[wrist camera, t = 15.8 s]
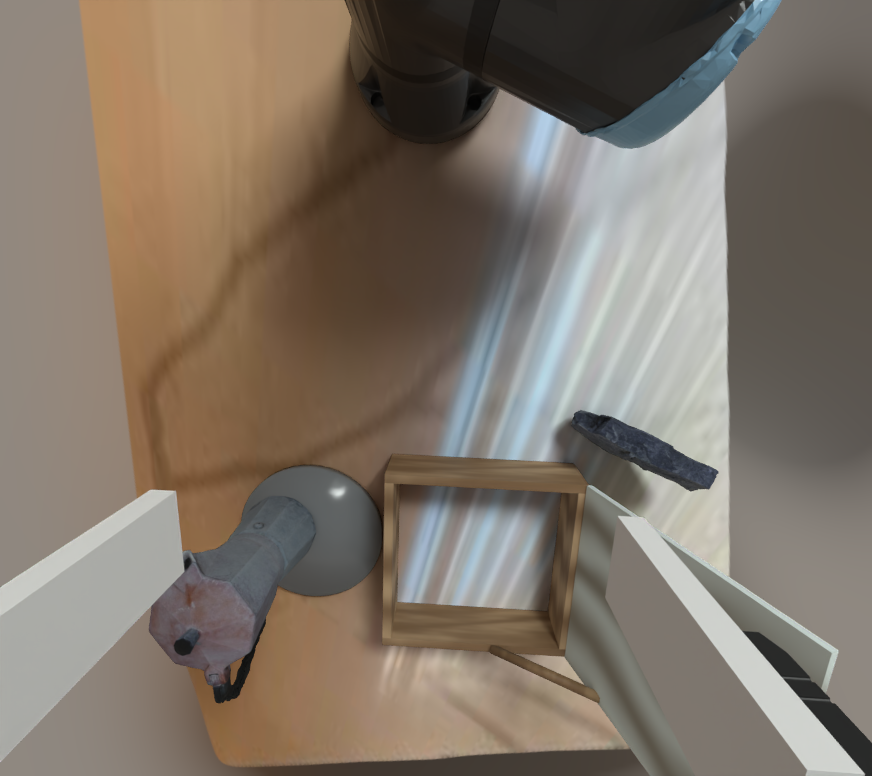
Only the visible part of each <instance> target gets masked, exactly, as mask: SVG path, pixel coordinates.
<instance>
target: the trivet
mask: <svg viewBox="0 0 872 776" xmlns="http://www.w3.org/2000/svg"><path fill="white" fill-rule="evenodd" d="M270 496H284V497H289V498H293V499H295V500H297V501H298V502H299V503H301V504H302V505H303V506H304V507H306V508H307V510H308V511H309V512H310V514H311V515H312V518H313V521H314V524H315V529H316V535H315V537H314V540H313V543H312V545H311V547H310V549H309V551H308V553H307V554H306V555H305V556H304V557H303V558H302V559H301V560H300V561H299V562H298V563H297V564H296V565H295V566H294V568H292V569H291V570H290V572H289V573H288V574H287V575H286V576H285V577H284V578H283V579H282V580H281V581H280V582H279V583H278V586H280V587H282V588H284V589H286V590H289V591H292V592H294V593H298V594H303V595H309V596H326V595H332V594H337V593H340V592H343V591H346V590H348V589H350V588H352V587H354V586H355V585H357V584H358V583H359V582H361V581H362V580H363V579H364V578H365V577H366V576H367V575H368V574H369V573H370V571H371V570H372V569H373V567H374V565H375V564H376V562H377V559H378V557H379V554H380V550H381V546H382V541H383V525H382V520H381V516H380V513H379V511H378V508H377V506H376V504H375V502H374V501H373V499H372V498H371V496H370V495H369V494H368V492H367V491H366V490H365V489H364V488H363V487H362V486H361V485H360V484H359V483H357V482H356V481H355V480H353V479H352V478H350V477H349V476H347V475H345V474H343V473H341V472H340V471H337V470H334V469H331V468H328V467H324V466H317V465H299V466H292V467H289V468H285V469H283V470H280V471H278V472H276V473H274V474H272V475H271V476H269V477H268V478H267V479H265V480H264V481H263V482H262V483H261V484H260V485H259V486H258V487H257V488H256V489H255V490H254V491H253V492H252V494H251V495H250V497H249V498H248V500H247V502H246V504H245V507H244V510H243V513H242V519H241V521H242V520H243V518H244V517H245V516H246V514H247V513H248V511H249V510H250V509H251V508H252V507H253V506H254V505H256V504H257V503H259V502H260V501H262V500H263V499H265V498H267V497H270Z"/></svg>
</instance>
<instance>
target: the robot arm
mask: <svg viewBox="0 0 872 776" xmlns="http://www.w3.org/2000/svg"><path fill="white" fill-rule="evenodd" d="M345 2H346V5H347V7H348V10H349V13H350V15H351V18H352V21H351V29H350V39H349V50H350V60H351V66H352V71H353V75H354V78H355V81H356V84H357V87H358V89H359V91H360V93H361V96H362V98H363V100H364V102H365V104H366V106H367V107H368V109H369V110H370V112H371V113H372V115H373V116H374V117H375V118H376V119H377V121H378V122H379V123H380V124H381V125H383V126H384V127H385V128H386V129H387V130H389V131H390V132H392V133H393V134H395V135H397V136H399V137H401V138H403V139H405V140H408V141H412V142H416V143H424V144H433V143H441V142H445V141H449V140H452V139H454V138H457V137H459V136H461V135H462V134H464V133H466V132H467V131H469V130H470V129H471V128H473V127H474V126H475V125H476V124H477V123H478V122H479V121H480V120H481V119H482V118H483V117H484V116H485V114H486V113H487V112H488V110H489V109H490V107H491V106H492V104H493V102H494V100H495V98H496V96H497V94H498V92H499V89H502V90H504V91H505V92H507V93H509V94H511V95H513V96H515V97H517V98H519V99H521V100H523V101H525V102H527V103H529V104H531V105H532V106H534V107H536V108H538V109H540V110H542V111H544V112H546V113H548V114H550V115H552V116H554V117H556V118H558V119H560V120H561V121H563V122H565V123H567V124H569V125H571V126H573V127H575V128H576V130H577V131H578V132H579V133H580V134H582V135H587V136H589V137H597V138H599V139H602V140H604V141H606V142H608V143H611V144H613V145H615V146H617V147H620V148H630V149H632V148H639V147H643V146H646V145H648V144H650V143H652V142H654V141H656V140H658V139H659V138H661V137H663V136H664V135H666V134H667V133H669V132H670V131H671V130H673V129H674V128H675V127H676V126H678V125H679V124H680V123H681V122H682V121H684V120H685V119H686V118H687V117H688V116H689V115H690V114H691V113H692V112H693V111H694V110H695V109H696V108H698V107H699V106H700V105H701V104H702V103H703V102H704V101H705V100H706V99H707V98H708V97H709V95H710V94H711V93H712V92H713V91H714V90H715V89H716V88H717V87H718V86H719V85H720V84H721V82H722V81H723V80H724V79H725V78H726V77H727V76H728V74H729V73H730V72H731V71H732V70H733V68H734V67H735V66H736V64H737V60H738V58H739V56H740V54H741V52H743V51H744V50H745V49H746V48H747V47H748V46H749V45H750V44H751V43H752V42H753V41H755V40H756V38H757V37H758V36H759V34H760V33H761V31H762V30H763V29H764V27H765V26H766V24H767V23H768V22H769V20H770V19H771V17H772V16H773V14H774V12H775V10H776V9H777V7H778V6H779V4H780V2H781V0H345ZM183 572H184V562H183V553H182V543H181V534H180V525H179V515H178V506H177V496H176V491H166V490H150V491H148V492H147V493H145V494H143V495H142V496H140V497H139V498H137V499H136V500H134V501H133V502H131V503H130V504H128V505H126V506H125V507H123V508H122V509H120V510H119V511H117V512H116V513H114V514H113V515H111V516H110V517H108V518H106V519H105V520H103V521H102V522H100V523H99V524H97V525H96V526H94V527H93V528H91V529H90V530H88V531H86V532H85V533H83V534H82V535H80V536H79V537H77V538H76V539H74V540H73V541H71V542H69V543H68V544H66V545H65V546H63V547H62V548H60V549H59V550H57V551H56V552H54V553H53V554H51V555H50V556H48V557H46V558H45V559H43V560H42V561H40V562H39V563H37V564H36V565H34V566H32V567H31V568H29V569H28V570H26V571H25V572H23V573H22V574H20V575H18V576H17V577H15V578H14V579H12V580H11V581H9V582H8V583H6V584H5V585H3V586H1V587H0V762H1V761H2V760H3V759H4V758H5V757H6V756H7V755H8V754H9V753H10V752H11V750H12V749H13V748H14V747H15V746H16V745H17V744H18V743H19V742H20V741H21V740H22V739H23V738H24V737H25V736H26V735H27V734H28V733H29V732H30V731H31V730H32V729H33V728H34V727H35V726H36V725H37V724H38V722H39V721H41V719H42V718H43V717H44V716H45V715H46V714H47V713H48V712H49V711H50V710H51V709H52V708H53V707H54V706H55V705H56V704H57V703H58V702H59V701H60V700H61V699H62V698H63V697H64V696H65V695H66V694H67V693H68V691H69V690H70V689H71V688H72V687H73V686H74V685H75V684H76V683H77V682H78V681H79V680H80V679H81V678H82V677H83V676H84V675H85V674H86V673H87V672H88V671H89V670H90V669H91V668H92V667H93V666H94V665H95V663H97V662H98V660H99V659H100V658H101V657H102V656H103V655H104V654H105V653H106V652H107V651H108V650H109V649H110V648H111V647H112V646H113V645H114V644H115V643H116V642H117V641H118V640H119V639H120V638H121V637H122V636H123V635H124V634H125V633H126V631H127V630H128V629H129V628H130V627H131V626H132V625H133V624H134V623H135V622H136V621H137V620H138V619H139V618H140V617H141V616H142V615H143V614H144V613H145V612H146V611H147V610H148V609H149V608H150V607H151V606H152V605H153V604H154V603H155V601H156V600H157V599H158V598H159V597H160V596H161V595H162V594H163V593H164V592H165V591H166V590H167V589H168V588H169V587H170V586H171V585H172V584H173V583H174V582H175V581H176V580H177V579H178V578H179V577H180V576H181V575H182V574H183ZM605 598H606V600H607V602H608V604H609V606H610V608H611V610H612V612H613V614H614V616H615V618H616V620H617V622H618V624H619V626H620V628H621V630H622V632H623V634H624V636H625V638H626V640H627V642H628V644H629V646H630V648H631V650H632V652H633V654H634V656H635V658H636V660H637V662H638V664H639V666H640V668H641V670H642V672H643V674H644V676H645V678H646V679H647V681H648V683H649V685H650V687H651V689H652V691H653V693H654V695H655V697H656V699H657V701H658V703H659V705H660V707H661V709H662V711H663V713H664V715H665V717H666V719H667V721H668V723H669V725H670V727H671V729H672V731H673V733H674V735H675V737H676V739H677V741H678V743H679V745H680V747H681V749H682V751H683V753H684V755H685V757H686V759H687V761H688V763H689V765H690V767H691V769H692V771H693V773H694V775H695V776H872V743H871V742H870V740H868V739H867V737H866V736H865V735H864V734H863V733H862V732H861V731H860V730H859V729H858V728H857V727H856V726H855V724H854V723H853V722H852V721H851V720H850V719H849V718H848V717H847V716H846V715H845V714H844V713H843V712H842V711H841V709H840V708H839V707H838V706H837V705H836V704H833V703H831V702H830V698H829V697H828V696H827V695H826V693H825V692H824V691H823V690H822V689H821V688H820V687H819V686H818V685H817V684H816V683H815V682H812V681H811V679H810V676H809V675H808V674H807V673H806V672H805V671H804V670H803V669H802V668H801V667H800V666H799V665H798V664H797V662H796V661H795V660H794V659H793V658H792V657H791V656H790V655H789V654H788V653H787V652H786V651H784V650H783V649H782V648H780V647H779V646H777V645H776V644H775V643H773V642H772V641H771V640H769V639H768V638H766V637H765V636H764V635H762V634H761V633H759V632H750V631H741V629H740V628H739V627H738V626H737V625H736V624H735V622H734V621H733V620H732V619H731V618H730V617H729V615H728V614H727V613H726V612H725V611H724V610H723V608H722V607H721V606H720V605H719V604H718V603H717V602H716V600H715V599H714V598H713V597H712V596H711V595H710V593H709V592H708V591H707V590H706V589H705V588H704V586H703V585H702V584H701V583H700V582H699V581H698V579H697V578H696V577H695V576H694V575H693V574H692V572H691V571H690V570H689V569H688V568H687V567H686V565H685V564H684V563H683V562H682V561H681V560H680V559H679V557H678V556H677V555H676V554H675V553H674V552H673V550H672V549H671V548H670V547H669V546H668V545H667V543H666V542H665V541H664V540H663V539H662V538H661V536H660V535H659V534H658V533H657V532H656V531H655V529H654V528H653V527H652V526H651V525H650V524H649V522H648V521H647V520H646V519H645V518H644V517H628V516H617V523H616V529H615V536H614V542H613V549H612V555H611V562H610V569H609V575H608V582H607V588H606V595H605Z"/></svg>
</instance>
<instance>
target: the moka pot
mask: <svg viewBox="0 0 872 776" xmlns="http://www.w3.org/2000/svg"><path fill="white" fill-rule="evenodd" d="M315 535H316V529H315V524H314V521H313V518H312V515H311V514H310V512H309V511H308V510H307V508H306V507H304V506H303V505H302V504H301V503H299V502H298V501H297V500H295V499H293V498H289V497H284V496H270V497H267V498H265V499H263V500H262V501H260V502H259V503H257V504H256V505H254V506H253V507H252V508H251V509H250V510H249V511H248V513H247V514H246V516H245V517H244V518H243V520H242V521H241V523H240V524H239V525H238V527H237V528H236V530H235V531H234V533H233V534H232V535H231V536H230V538H229V539H228V541H227V542H225V543H224V544H223V545H221V546H220V547H218V548H217V549H215V550H208V551H204V552H199V553H192V552H191V551H190V550H186V551H183V552H182V553H183V562H184V572H183V574H182V575H181V576H180V577H179V578H178V579H177V580H176V581H175V582H174V583H173V584H172V585H171V586H170V587H169V588H168V589H167V590H166V591H165V592H164V593H163V594H162V595H161V596H160V597H159V598H158V599H157V600H156V601H155V603H154V604H153V605H152V608H151V616H150V624H149V632H150V634H151V635H152V636H153V637H154V639H155V640H156V641H157V642H158V644H159V645H160V646H161V647H162V649H163V650H164V651H165V652H166V654H167V655H168V656H169V657H170V658H171V660H172V661H173V662H174V663H176V664H179V665H183V666H188V667H192V668H198V669H202V670H203V671H205V672H204V675H205V678H206V681H207V684H208V685H212V686H213V690H214V698H215V701H216V703H221V702H222V703H223V702H224V701H225V700H227V701H230V700H231V699H235V698H237V697H238V696H239V694H240V691H241V688H242V687H243V684H244V683H245V680H246V677H247V675H248V673H249V671H250V664H251V661H252V659H253V657H254V653H255V648H256V645H257V643H258V641H259V638H260V635H261V633H262V631H263V628H264V627H265V624H266V616H267V613H268V611H269V609H270V607H271V605H272V602H273V600H274V598H275V595H276V591H277V586H278V583H279V582H280V581H281V580H282V579H283V578H284V577H285V576H286V575H287V574H288V573H289V572H290V570H291V569H292V568H294V566H295V565H296V564H297V563H298V562H299V561H300V560H301V559H302V558H303V557H304V556H305V555H306V554H307V553H308V551H309V549H310V547H311V545H312V543H313V540H314V537H315ZM243 656H245V657H244V659H243V660H242V664H241V666H240V668H239V670H238V672H237V677H236V680H235V682H234V684H233V685H231V681H230V672H231V669H230V664H231V663H233V662H235V661H237V660H238V659H240V658H242V657H243Z"/></svg>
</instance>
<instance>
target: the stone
mask: <svg viewBox="0 0 872 776" xmlns="http://www.w3.org/2000/svg"><path fill="white" fill-rule="evenodd" d="M571 426H572V427H573V428H574V429H576V430H577V431H579V432H580V433H581V434H583V435H584V436H585V437H586V438H588V439H589V440H590V441H592V442H593V443H595V444H596V445H598V446H600V447H601V448H602V449H603V450H605V451H607V452H609V453H611V454H614V455H616V456H619V457H620V458H622V459H625V460H629V461H630V462H634V463H635V464H637V465H639V466H640V468H642V469H643V470H648V471H650V472H653V473H655V474H657V475H660V476H662V477H664V478H666V479H669V480H671V481H674V482H676V483H678V484H679V485H681V486H683V487H684V488H685V489H687V490H689V491H694V490H698V489H710V487H711V485H712V484H713V482H714V480H715V478H716V475H717V474H718V471H717V470H716V469H714V468H712V467H710V466H707V465H705V464H703V463H700V462H697V461H695V460H693V459H691V458H689V457H687V456H685V455H684V454H682V453H680V452H678V451H676V450H675V449H674V448H673V446H671V445H670V444H668V443H666V442H663V441H662V440H660V439H658V438H656V437H654V436H653V435H650V434H648V433H646V432H644V431H642V430H639V429H637V428H634V427H631V426H629V425H627V424H625V423H623V422H621V421H619V420H617V419H615V418H613V417H610V416H605V415H601V416H598V415H596V414H593V413H590V412H586V411H582V410H580V411H578V412H576V413H575V414H574V417H573V420H572V425H571Z"/></svg>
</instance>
